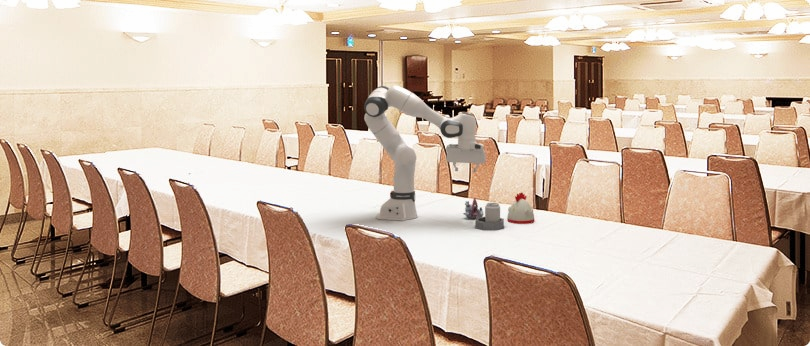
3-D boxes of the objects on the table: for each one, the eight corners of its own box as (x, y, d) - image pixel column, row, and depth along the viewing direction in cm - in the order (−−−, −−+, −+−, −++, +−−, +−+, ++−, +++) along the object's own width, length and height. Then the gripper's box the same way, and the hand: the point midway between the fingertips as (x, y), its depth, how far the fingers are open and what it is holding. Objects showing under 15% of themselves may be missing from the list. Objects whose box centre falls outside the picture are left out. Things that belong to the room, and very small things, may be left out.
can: (489, 224, 333) (489, 201, 331) (502, 226, 329) (502, 202, 327) (482, 227, 327) (482, 204, 325) (495, 229, 323) (496, 205, 321)
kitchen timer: (501, 221, 340) (501, 192, 338) (519, 216, 349) (519, 189, 347) (522, 225, 330) (522, 196, 328) (539, 221, 339) (540, 192, 336)
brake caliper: (484, 216, 341) (470, 197, 342) (468, 227, 345) (454, 209, 346) (489, 211, 351) (476, 193, 353) (473, 222, 356) (460, 205, 357)
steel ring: (475, 229, 322) (475, 222, 322) (476, 223, 336) (476, 216, 335) (503, 230, 320) (503, 223, 319) (503, 223, 334) (503, 216, 333)
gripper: (445, 144, 332) (444, 171, 334) (486, 146, 329) (485, 173, 331) (446, 143, 338) (446, 169, 340) (486, 144, 335) (485, 171, 337)
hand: (465, 171), depth 335 cm, fingers open, 8 cm apart
